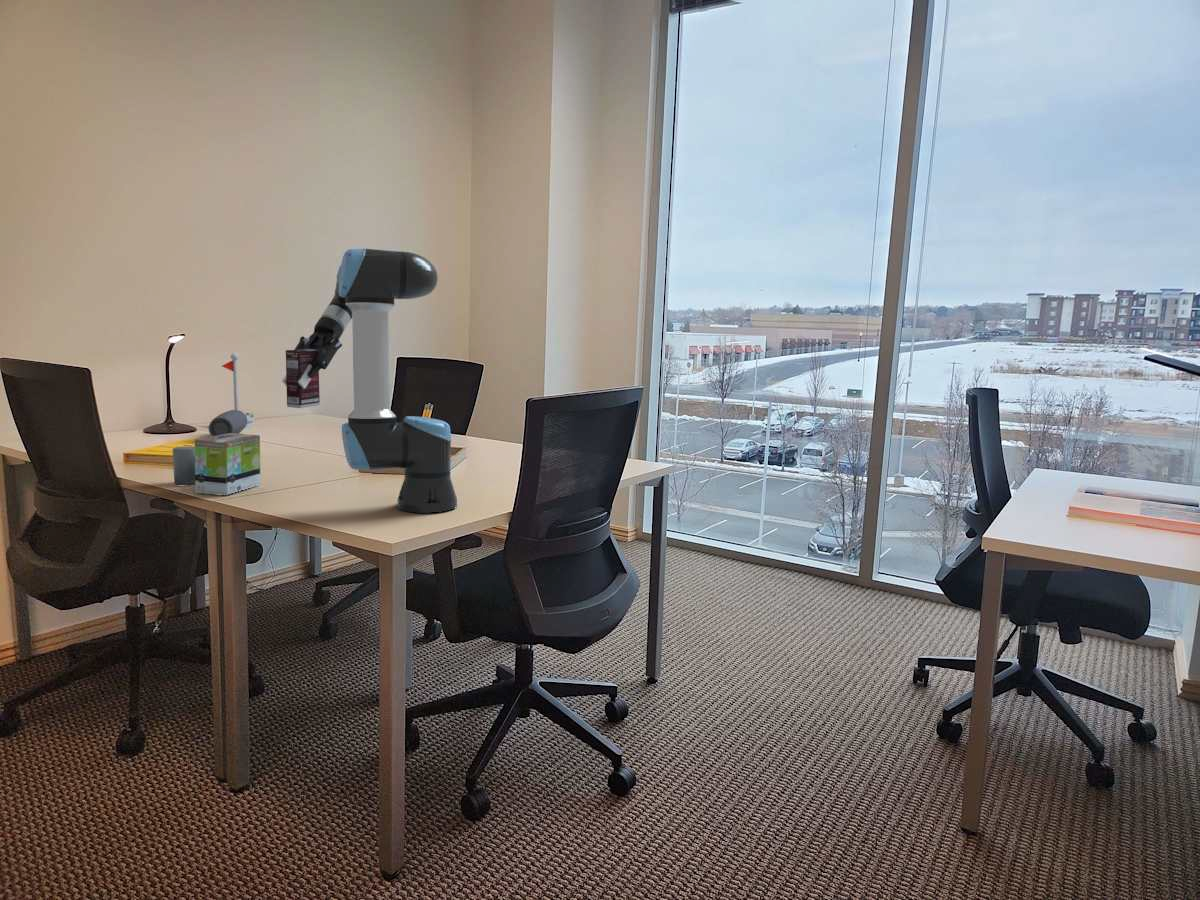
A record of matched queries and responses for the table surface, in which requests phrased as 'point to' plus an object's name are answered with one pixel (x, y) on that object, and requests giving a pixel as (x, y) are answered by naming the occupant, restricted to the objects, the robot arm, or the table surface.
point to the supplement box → (294, 371)
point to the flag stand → (233, 367)
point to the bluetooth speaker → (228, 423)
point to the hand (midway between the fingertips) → (293, 384)
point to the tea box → (227, 463)
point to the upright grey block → (184, 465)
